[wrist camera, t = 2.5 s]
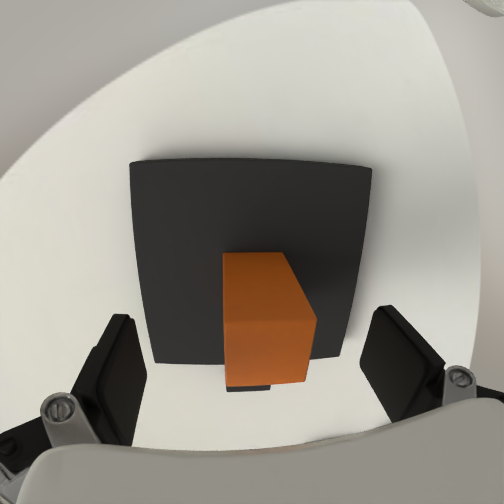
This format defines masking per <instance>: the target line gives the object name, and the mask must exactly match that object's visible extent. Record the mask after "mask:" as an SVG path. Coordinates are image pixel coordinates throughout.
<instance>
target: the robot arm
mask: <svg viewBox="0 0 504 504" xmlns="http://www.w3.org/2000/svg"><path fill="white" fill-rule="evenodd" d="M444 366H445V361H444V360H443V359H442V358H441V357H440V356H439V355H438V354H437V352H436V351H435V350H434V349H433V348H432V347H431V346H430V345H429V344H428V342H427V341H426V340H425V339H424V338H423V337H422V336H421V335H420V334H419V333H418V332H417V331H416V329H415V328H414V327H413V326H412V325H411V324H410V323H409V322H408V321H407V320H406V319H405V318H404V317H403V316H402V315H401V314H400V313H399V312H398V311H397V310H396V308H395V307H394V306H392V305H386V306H379V307H378V308H377V310H375V311H374V313H373V316H372V320H371V324H370V327H369V331H368V334H367V338H366V341H365V345H364V348H363V351H362V355H361V358H360V368H361V370H362V371H363V373H364V375H365V376H366V378H367V380H368V382H369V383H370V385H371V387H372V388H373V390H374V392H375V394H376V395H377V397H378V399H379V401H380V402H381V404H382V406H383V408H384V410H385V411H386V413H387V415H388V417H389V418H390V420H391V422H392V424H389V425H385V426H382V427H379V428H375V429H371V430H367V431H364V432H360V433H355V434H351V435H347V436H342V437H338V438H333V439H328V440H322V441H317V442H311V443H304V444H298V445H290V446H282V447H273V448H263V449H250V450H230V451H187V450H165V449H151V448H140V447H131V446H132V442H133V437H134V433H135V428H136V423H137V418H138V414H139V409H140V405H141V401H142V396H143V392H144V388H145V384H146V380H147V371H146V367H145V363H144V359H143V355H142V351H141V347H140V343H139V338H138V334H137V329H136V324H135V320H134V319H133V318H130V316H129V315H128V314H114V315H113V316H112V318H111V320H110V321H109V323H108V325H107V327H106V329H105V331H104V333H103V334H102V336H101V338H100V340H99V342H98V344H97V346H94V347H93V348H92V350H91V352H90V354H89V356H88V358H87V359H86V361H85V363H84V365H83V367H82V369H81V371H80V373H79V376H78V378H77V380H76V382H75V384H74V386H73V388H72V390H71V392H70V394H69V393H63V392H59V393H55V394H52V395H50V396H48V397H47V398H46V399H45V400H44V401H43V403H42V405H41V408H40V414H41V416H40V417H38V418H35V419H33V420H31V421H29V422H26V423H24V424H22V425H19V426H17V427H15V428H12V429H10V430H7V431H5V432H3V433H1V434H0V504H504V393H503V392H499V391H496V390H492V389H488V388H484V387H481V386H478V385H476V379H475V376H474V374H473V373H472V372H471V371H470V370H469V369H467V368H465V367H462V366H457V365H455V366H451V367H448V369H447V370H446V371H445V370H444Z"/></svg>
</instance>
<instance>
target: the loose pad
mask: <svg viewBox="0 0 504 504" xmlns="http://www.w3.org/2000/svg"><path fill="white" fill-rule="evenodd" d="M129 169H130V192H131V208H132V221H133V232H134V242H135V251H136V259H137V267H138V275H139V282H140V288H141V295H142V301H143V307H144V312H145V318H146V323H147V328H148V333H149V338H150V343H151V347H152V352H153V356H154V361H155V363H164V364H199V365H222V364H225V381H226V391H227V392H245V391H264V390H270V387H271V385H273V384H286V383H296V382H304V381H305V379H306V375H307V370H308V365H309V360H312V359H321V358H330V357H338V356H339V355H340V352H341V348H342V344H343V340H344V336H345V332H346V328H347V324H348V320H349V316H350V311H351V307H352V302H353V297H354V293H355V288H356V283H357V277H358V272H359V267H360V261H361V255H362V249H363V243H364V236H365V230H366V222H367V215H368V207H369V198H370V189H371V179H372V169H371V168H367V167H363V166H356V165H347V164H337V163H327V162H314V161H300V160H283V159H258V158H185V159H161V160H144V161H136V162H131V163H130V164H129Z"/></svg>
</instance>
